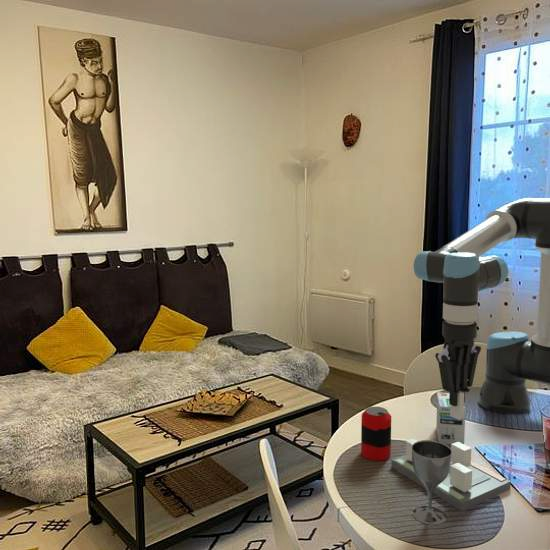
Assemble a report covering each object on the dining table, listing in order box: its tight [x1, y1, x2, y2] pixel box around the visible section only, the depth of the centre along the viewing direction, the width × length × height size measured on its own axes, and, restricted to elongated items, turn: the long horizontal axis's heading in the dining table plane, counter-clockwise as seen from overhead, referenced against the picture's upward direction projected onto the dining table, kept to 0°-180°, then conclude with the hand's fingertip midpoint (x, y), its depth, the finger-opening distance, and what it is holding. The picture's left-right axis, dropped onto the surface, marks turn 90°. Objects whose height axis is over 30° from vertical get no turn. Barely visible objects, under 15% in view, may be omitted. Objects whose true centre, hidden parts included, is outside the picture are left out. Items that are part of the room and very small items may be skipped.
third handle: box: [450, 463, 472, 492], centre depth 123 cm, size 2×4×4 cm, turn 31°
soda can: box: [360, 406, 392, 462], centre depth 142 cm, size 8×8×12 cm
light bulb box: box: [435, 391, 467, 445], centre depth 152 cm, size 11×7×11 cm, turn 168°
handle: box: [405, 438, 419, 461], centre depth 135 cm, size 2×4×4 cm, turn 31°
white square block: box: [450, 442, 472, 467], centre depth 133 cm, size 2×4×4 cm, turn 31°
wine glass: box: [411, 439, 452, 526], centre depth 116 cm, size 8×8×15 cm
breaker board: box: [391, 454, 511, 512], centre depth 131 cm, size 16×22×2 cm
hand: (456, 417), depth 130 cm, fingers closed
